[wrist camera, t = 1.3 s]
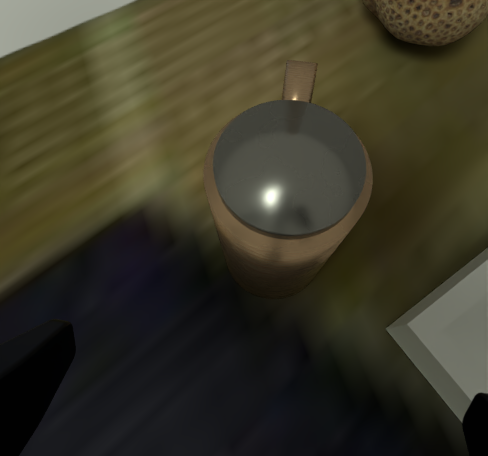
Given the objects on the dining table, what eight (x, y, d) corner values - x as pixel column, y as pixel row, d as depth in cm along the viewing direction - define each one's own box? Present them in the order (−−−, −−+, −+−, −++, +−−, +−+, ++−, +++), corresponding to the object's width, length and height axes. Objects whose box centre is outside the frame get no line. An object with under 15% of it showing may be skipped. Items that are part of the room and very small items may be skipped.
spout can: (316, 306, 21) (378, 256, 10) (216, 290, 21) (182, 228, 11) (326, 186, 23) (384, 52, 13) (238, 174, 24) (227, 36, 13)
